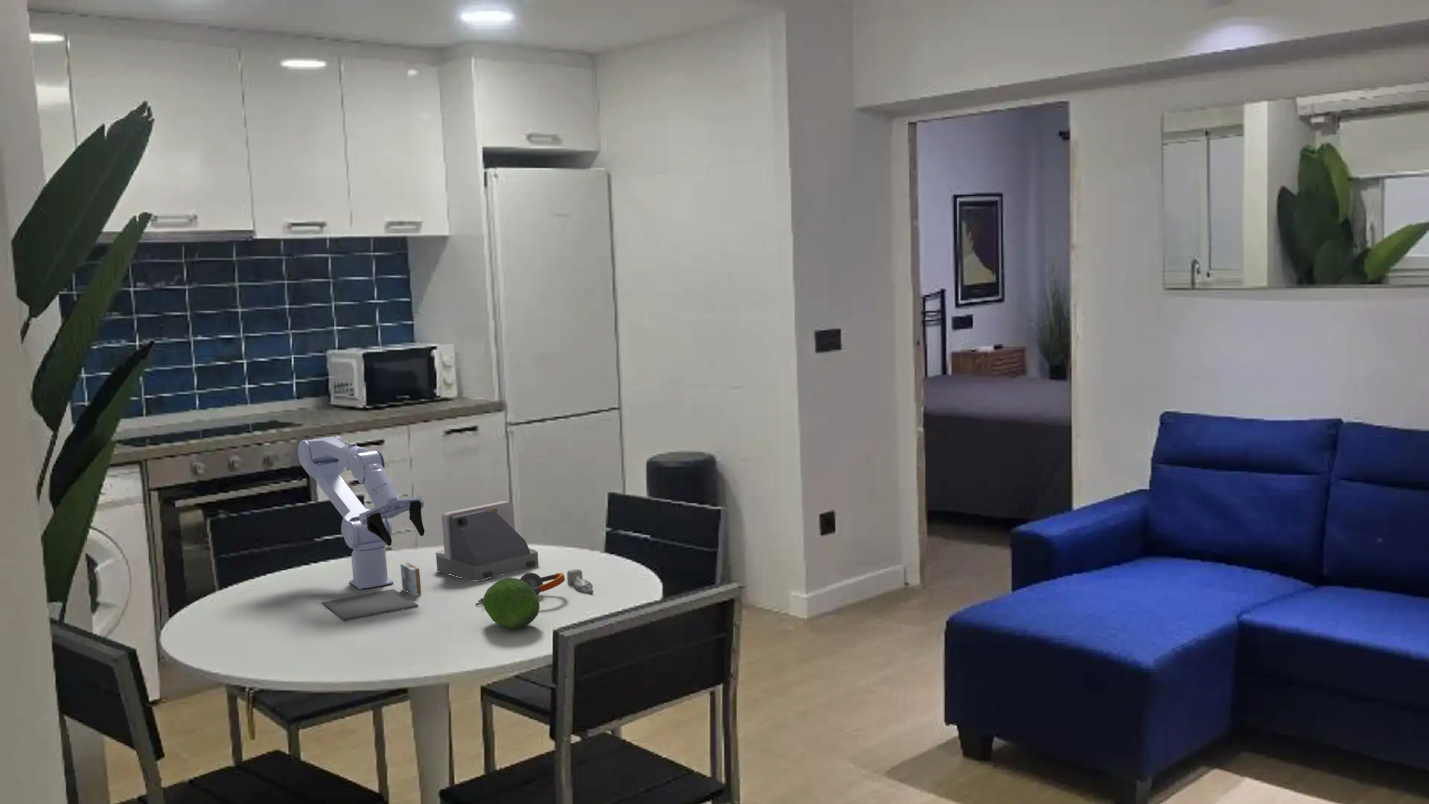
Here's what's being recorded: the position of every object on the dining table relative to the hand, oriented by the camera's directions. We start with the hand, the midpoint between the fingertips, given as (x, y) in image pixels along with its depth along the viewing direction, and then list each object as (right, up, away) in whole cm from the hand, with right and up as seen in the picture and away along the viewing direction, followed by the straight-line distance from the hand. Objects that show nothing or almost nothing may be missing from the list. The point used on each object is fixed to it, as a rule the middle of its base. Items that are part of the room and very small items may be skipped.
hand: (406, 538), depth 275 cm
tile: (-1, -13, +7) cm, 15 cm away
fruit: (+27, -15, -25) cm, 40 cm away
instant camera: (+13, -11, +26) cm, 31 cm away
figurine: (+39, -12, +1) cm, 41 cm away
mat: (-7, -14, -3) cm, 16 cm away
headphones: (+26, -13, -5) cm, 30 cm away
